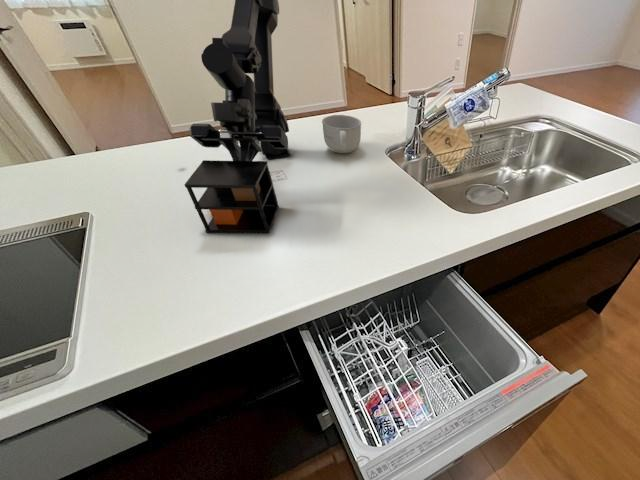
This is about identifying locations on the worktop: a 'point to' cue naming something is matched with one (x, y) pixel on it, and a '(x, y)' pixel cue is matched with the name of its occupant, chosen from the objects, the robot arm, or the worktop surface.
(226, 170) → the snack rack
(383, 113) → the worktop surface
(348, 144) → the teacup
